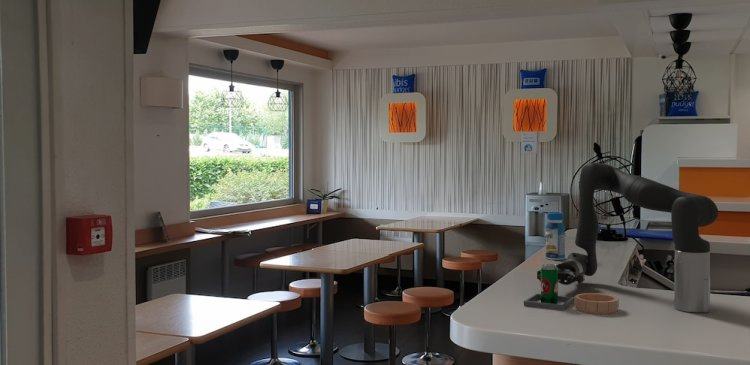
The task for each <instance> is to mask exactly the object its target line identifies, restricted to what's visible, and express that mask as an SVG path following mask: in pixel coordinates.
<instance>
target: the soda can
mask: <svg viewBox="0 0 750 365" xmlns="http://www.w3.org/2000/svg"><path fill="white" fill-rule="evenodd" d="M557 265H558V264H554V263H544V264H542V265H541V267H540V270H541V282H540V294H541V299H540V302H542V303H551V304H558V303H559V301H558V296H559V282H558V268H557Z"/></svg>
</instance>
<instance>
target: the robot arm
mask: <svg viewBox="0 0 750 365" xmlns="http://www.w3.org/2000/svg"><path fill="white" fill-rule="evenodd" d="M578 191H579V194H578V196H579V197H578V199H579V201H578V204H579V205H578V206H579V208H578V210H579V211H578V223H577V229H576V234H575V240H574V245H575V246H577V247H578V248H580V249H582V250H584V251H585V253H586V254H583V253H579V252H571V253H569V254H568V255H567V258H566V259H564V261H563V260H562V261H561V262H559V263H557V264H556V265H557V268H558V284H561V285H562V286H563V285H564V286H569V285H571V284H575V283H576V282H577V284H582V283H584V281H585V280H586V277H591V276H594V275H595V274H596V273H597V270H598V259H597V258H598V257H597V241H598V233H599V219H598V215H597V213H596V209H595V206H594V195H595V191H607V192H613V193H616V194H618V195H621V196H623V198H624V199H625V200H626V201H627V202H628V203H631V204H632V205H635V206H637V207H639V208H643V209H644V210H649V211H650V210H651V211H657V212H661V213H662V212H663V213H670V214H671V215H670V216H671V217H670V219H671V221H670V222H671V237H672V240H673V244H674V296H673V297H674V299H673V300H674V301H673V304H674V309H676V310H678V311H682V312H686V313H687V312H688V313H706V314H707V313H709V311H710V309H711V276H710V275H711V274H710V273H711V272H710V268H711V267H710V266H711V265H710V264H711V262H710V261H711V259H710V258H711V245H710V242H709V240H706V239H704V238H702V237H701V236H700V233H699V228H704V227H708V226H710V225H712V224H713V223H715V221H716V220H717V218H718V216H719V209H718V205H716V203H715V202H714V201H713V200H712V199H711V198H710V197H708V196H706V195H702V194H695V193H691V192H686V191H682V190H680V189H677V188H674V187H671V186H669V185H666V184H663V183H660V182H657V181H655V180H653V179H649V178H646V177H644V176H639V175H637V174H636V175H635V174H630V173H626V172H624V171H622V170H620V169H618V168H616V167H614V166H612V165H610V164H607V163H596V162H587V163H586V164H584V165H583V167H582V168H581V170H580V174H579V190H578ZM585 276H586V277H585ZM536 279H537V280H538V281H539V282H540V283H541V269H540V270H537V271H536Z"/></svg>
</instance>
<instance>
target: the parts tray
mask: <svg viewBox="0 0 750 365" xmlns="http://www.w3.org/2000/svg"><path fill="white" fill-rule="evenodd" d="M537 300H541V293H534V294H533V295H531V296H530V297H528V298H527V299H525V300H523V306H524V307H530V308H540V309H547V310H555V311H556V310H557V311H565V310H567V308H569V307H570V306H571V305H574V304H575V296H574V297H572V296H563V295H558V302H563V304H558V303H557V304H551V303H542V302H541V301H537Z"/></svg>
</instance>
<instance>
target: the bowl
mask: <svg viewBox="0 0 750 365" xmlns="http://www.w3.org/2000/svg"><path fill="white" fill-rule="evenodd" d="M573 305H574V309H575V310H576V311H578V312H580V313H584V314H590V315H591V314H592V315H611V314H612V315H613V314H617V313H618V312H619V306H620V298H619V297H617V296H615V295H610V294H607V293H596V292H592V293H591V292H590V293H589V292H587V293H586V292H584V293H579V294H576V295H575V296H574V303H573Z"/></svg>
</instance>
